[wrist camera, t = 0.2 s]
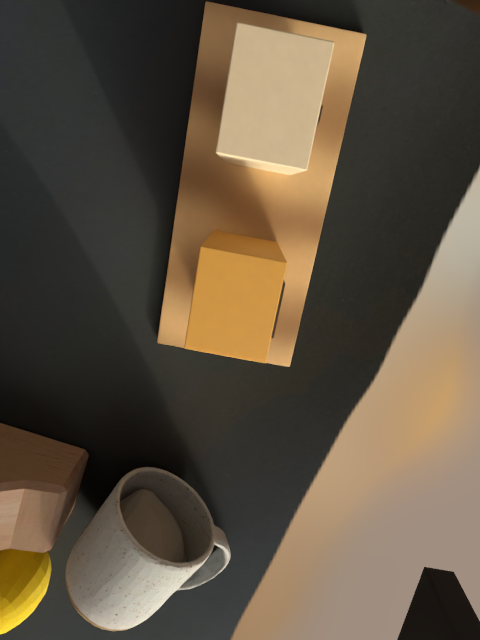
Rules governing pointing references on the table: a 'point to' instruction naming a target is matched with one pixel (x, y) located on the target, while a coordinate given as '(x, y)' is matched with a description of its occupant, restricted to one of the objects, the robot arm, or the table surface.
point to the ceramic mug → (143, 550)
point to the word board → (254, 177)
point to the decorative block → (36, 488)
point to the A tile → (273, 99)
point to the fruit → (21, 584)
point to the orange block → (236, 296)
